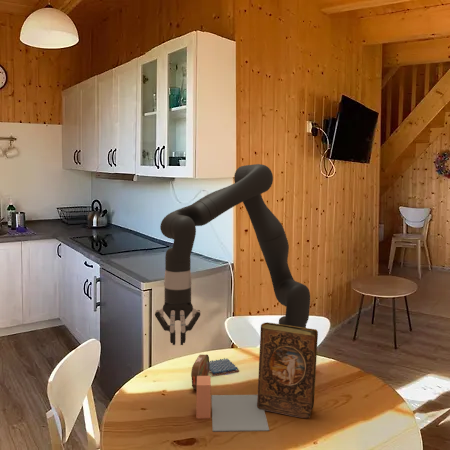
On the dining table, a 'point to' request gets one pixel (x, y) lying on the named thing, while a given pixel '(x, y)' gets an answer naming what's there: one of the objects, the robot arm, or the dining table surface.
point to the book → (287, 369)
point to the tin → (200, 369)
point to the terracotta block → (203, 397)
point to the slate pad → (237, 413)
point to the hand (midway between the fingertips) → (177, 343)
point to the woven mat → (222, 367)
